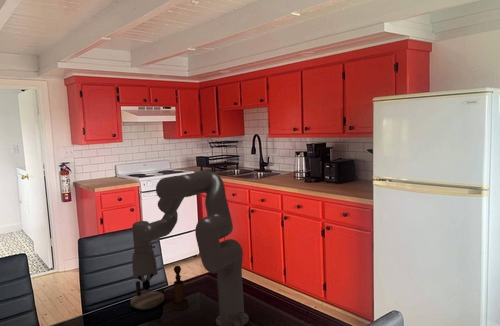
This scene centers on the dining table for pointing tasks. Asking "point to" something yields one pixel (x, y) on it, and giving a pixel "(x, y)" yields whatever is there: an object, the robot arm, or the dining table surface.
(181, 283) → the wooden pepper mill
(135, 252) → the robot arm
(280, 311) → the dining table surface
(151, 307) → the turntable base
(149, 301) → the disc
